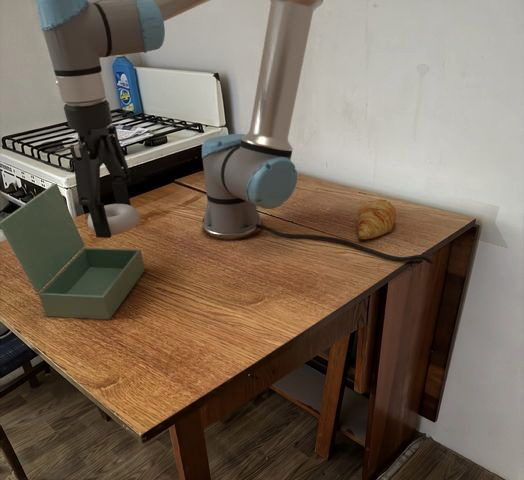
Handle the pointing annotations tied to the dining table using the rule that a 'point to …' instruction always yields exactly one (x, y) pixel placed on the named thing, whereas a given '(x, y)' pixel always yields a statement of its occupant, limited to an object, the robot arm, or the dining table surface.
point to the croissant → (375, 219)
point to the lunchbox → (93, 283)
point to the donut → (119, 218)
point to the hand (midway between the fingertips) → (115, 225)
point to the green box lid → (43, 236)
